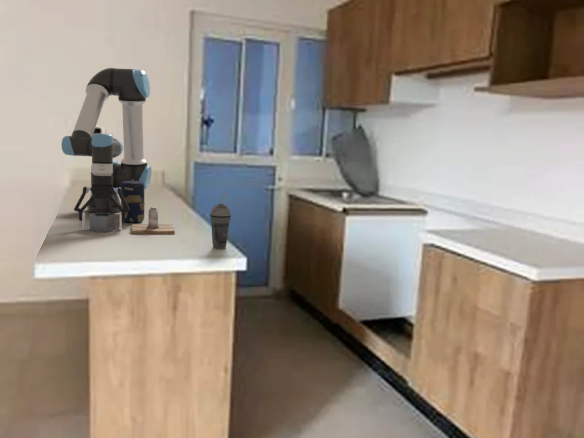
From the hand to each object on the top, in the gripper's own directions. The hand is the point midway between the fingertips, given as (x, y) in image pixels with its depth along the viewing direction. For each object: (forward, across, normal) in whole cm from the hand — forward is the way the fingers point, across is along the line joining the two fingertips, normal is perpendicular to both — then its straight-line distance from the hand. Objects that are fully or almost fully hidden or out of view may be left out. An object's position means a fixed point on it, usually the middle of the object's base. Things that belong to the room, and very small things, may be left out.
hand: (102, 229), depth 211 cm
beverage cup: (0, +41, -32) cm, 52 cm away
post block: (0, +19, -1) cm, 19 cm away
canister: (0, +11, +19) cm, 22 cm away
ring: (0, 0, 0) cm, 0 cm away
